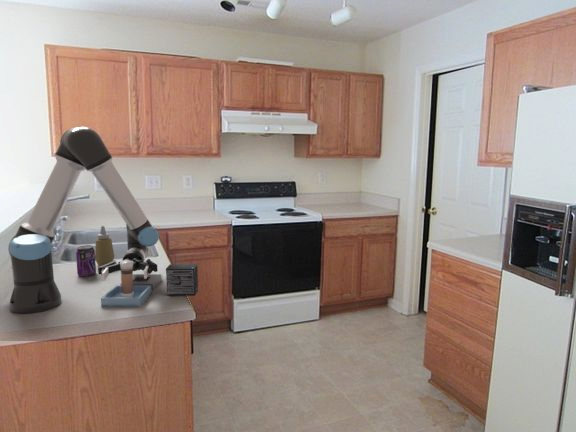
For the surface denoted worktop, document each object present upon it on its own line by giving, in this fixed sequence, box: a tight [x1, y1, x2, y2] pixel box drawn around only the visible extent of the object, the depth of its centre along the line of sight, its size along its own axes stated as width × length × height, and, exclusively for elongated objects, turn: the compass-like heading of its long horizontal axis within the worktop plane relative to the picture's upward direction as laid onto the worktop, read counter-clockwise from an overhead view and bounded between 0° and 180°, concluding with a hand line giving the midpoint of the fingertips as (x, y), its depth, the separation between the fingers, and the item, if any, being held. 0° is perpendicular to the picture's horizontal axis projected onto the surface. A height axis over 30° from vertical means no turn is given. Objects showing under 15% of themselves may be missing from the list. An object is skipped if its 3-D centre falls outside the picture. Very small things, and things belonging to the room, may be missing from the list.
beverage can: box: [75, 244, 97, 277], centre depth 177 cm, size 7×7×12 cm
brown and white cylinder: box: [119, 260, 134, 297], centre depth 148 cm, size 4×4×13 cm
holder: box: [119, 273, 162, 291], centre depth 165 cm, size 12×12×2 cm
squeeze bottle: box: [94, 225, 115, 267], centre depth 190 cm, size 8×8×18 cm
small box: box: [165, 263, 199, 297], centre depth 156 cm, size 11×6×10 cm, turn 92°
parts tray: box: [100, 285, 152, 308], centre depth 149 cm, size 13×13×3 cm
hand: (124, 275), depth 145 cm, fingers open, 13 cm apart
